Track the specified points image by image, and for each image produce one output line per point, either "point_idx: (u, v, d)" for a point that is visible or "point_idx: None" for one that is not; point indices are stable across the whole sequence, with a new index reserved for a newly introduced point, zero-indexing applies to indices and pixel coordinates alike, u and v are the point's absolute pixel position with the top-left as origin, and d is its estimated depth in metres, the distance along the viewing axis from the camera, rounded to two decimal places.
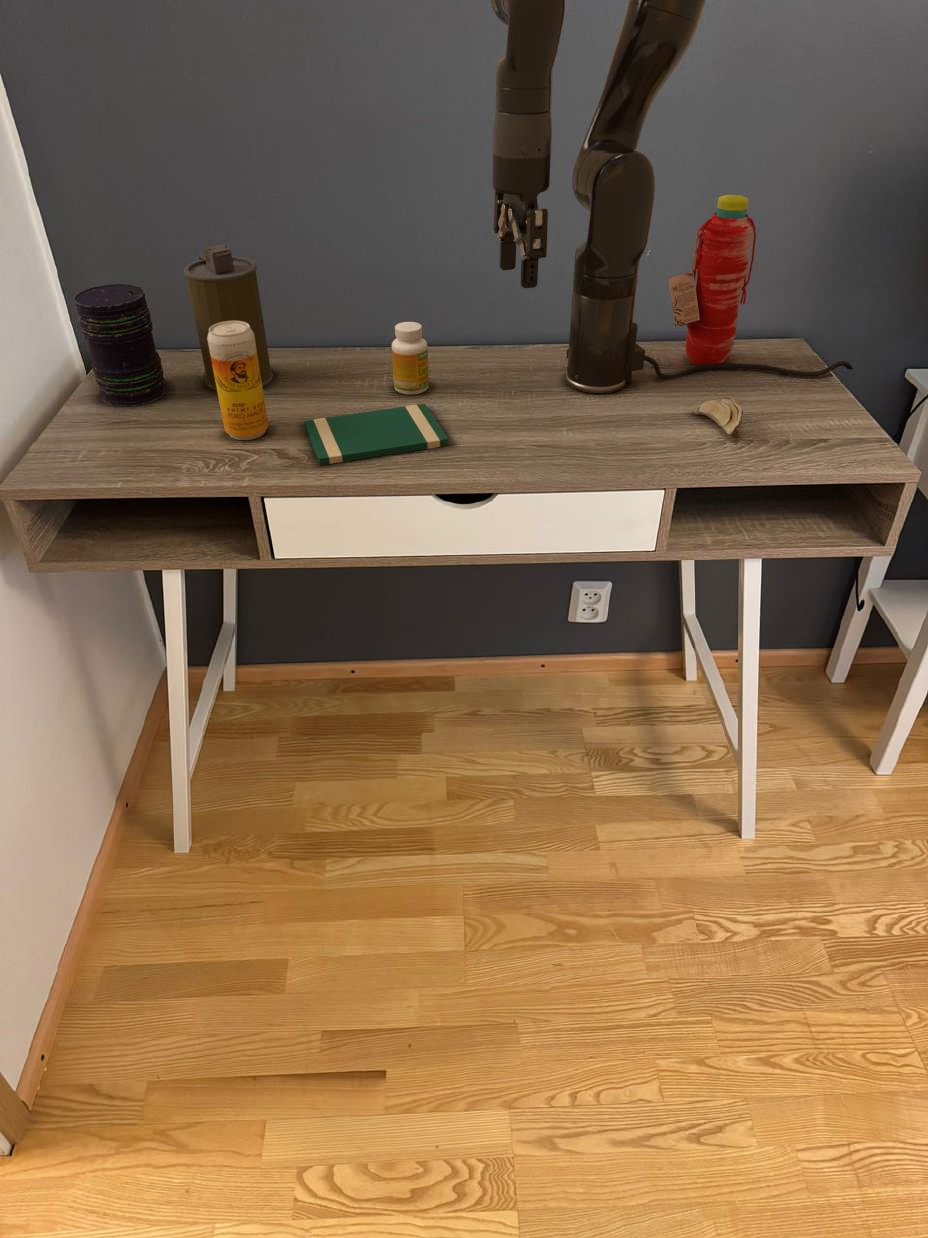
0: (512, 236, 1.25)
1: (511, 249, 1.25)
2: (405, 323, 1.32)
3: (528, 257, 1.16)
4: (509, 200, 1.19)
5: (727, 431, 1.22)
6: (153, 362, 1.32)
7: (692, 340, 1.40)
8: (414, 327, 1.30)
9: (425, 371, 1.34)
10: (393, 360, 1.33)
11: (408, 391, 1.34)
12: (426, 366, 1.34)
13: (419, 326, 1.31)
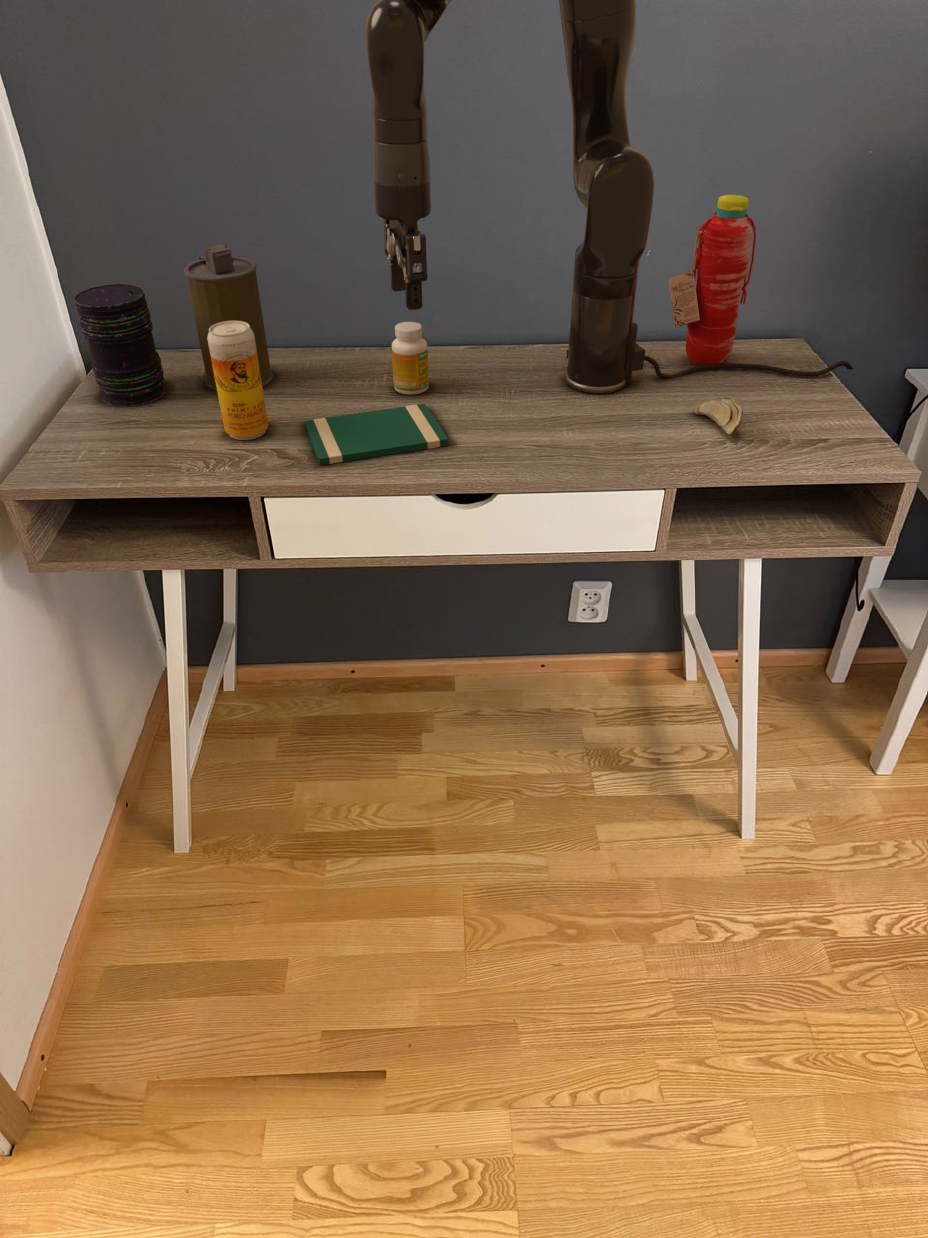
0: None
1: (401, 271, 1.29)
2: (405, 323, 1.32)
3: (409, 280, 1.20)
4: (393, 225, 1.23)
5: (727, 431, 1.22)
6: (153, 362, 1.32)
7: (692, 340, 1.40)
8: (414, 327, 1.30)
9: (425, 371, 1.34)
10: (393, 360, 1.33)
11: (408, 391, 1.34)
12: (426, 366, 1.34)
13: (419, 326, 1.31)
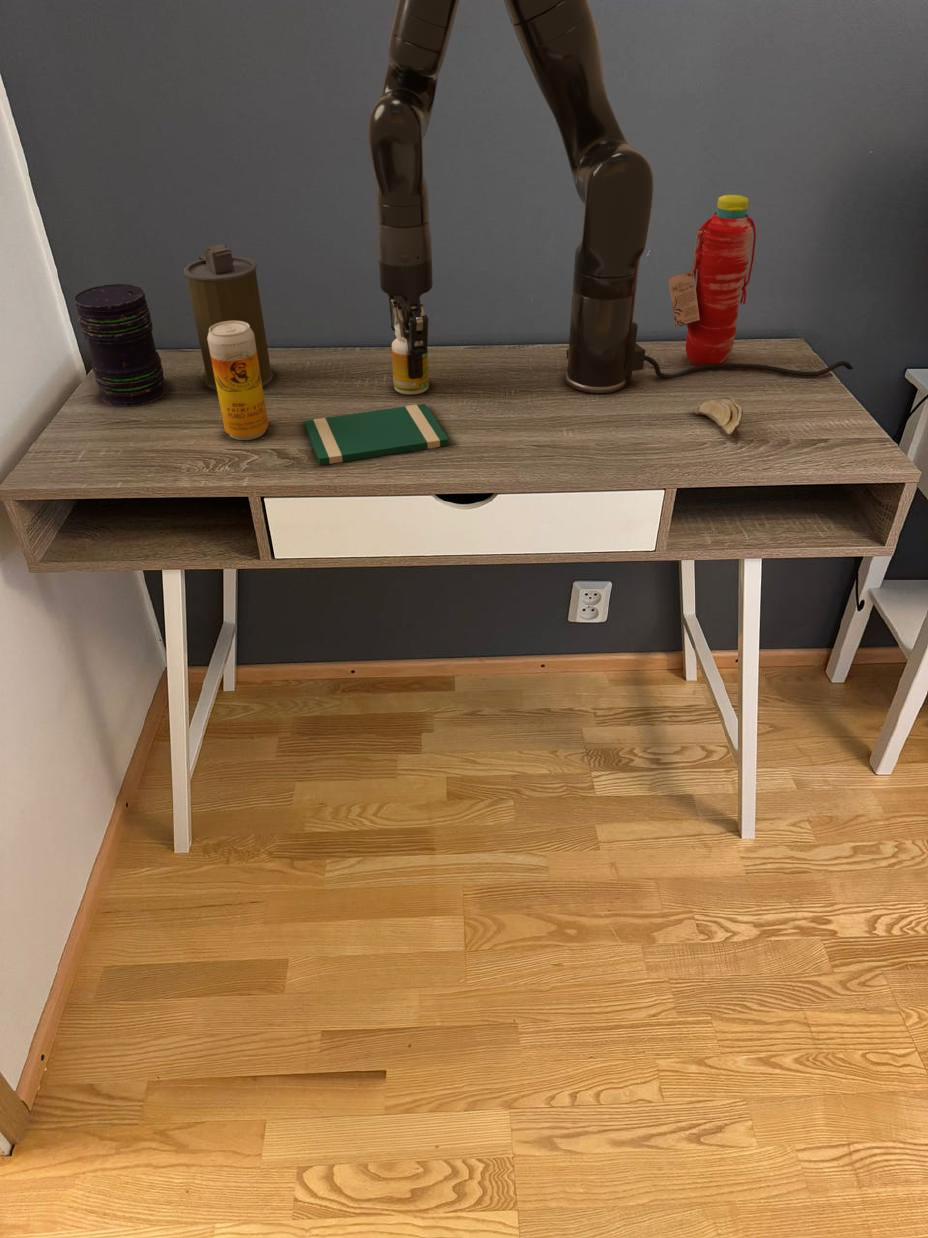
0: None
1: None
2: None
3: (410, 354, 1.28)
4: (397, 298, 1.29)
5: (727, 431, 1.22)
6: (153, 362, 1.32)
7: (692, 340, 1.40)
8: None
9: (425, 371, 1.34)
10: (393, 360, 1.33)
11: (408, 391, 1.34)
12: (426, 366, 1.34)
13: None
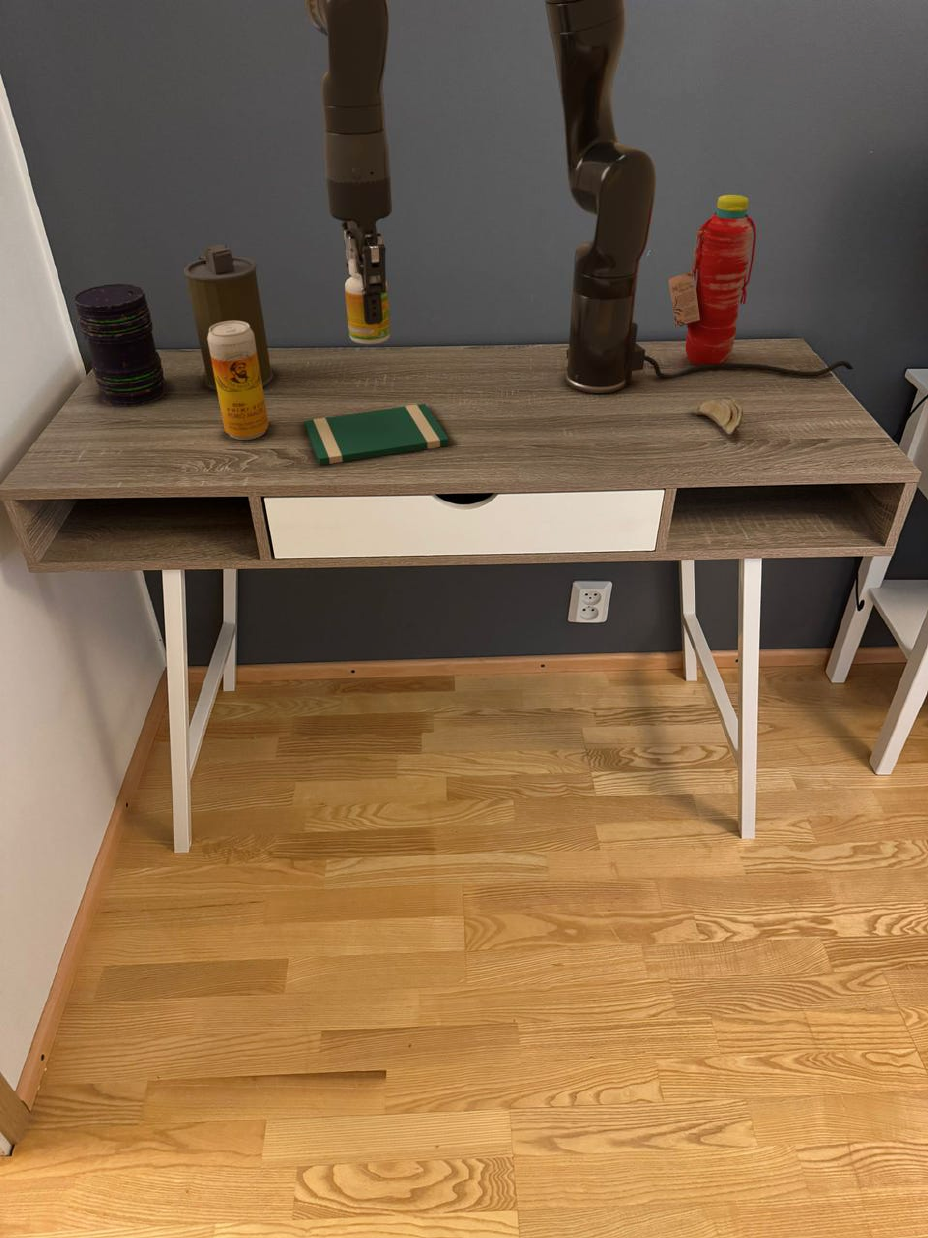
0: None
1: None
2: None
3: (365, 292, 1.07)
4: (351, 226, 1.08)
5: (727, 431, 1.22)
6: (153, 362, 1.32)
7: (692, 340, 1.40)
8: None
9: (385, 316, 1.13)
10: (347, 302, 1.12)
11: (365, 340, 1.14)
12: (386, 310, 1.13)
13: None
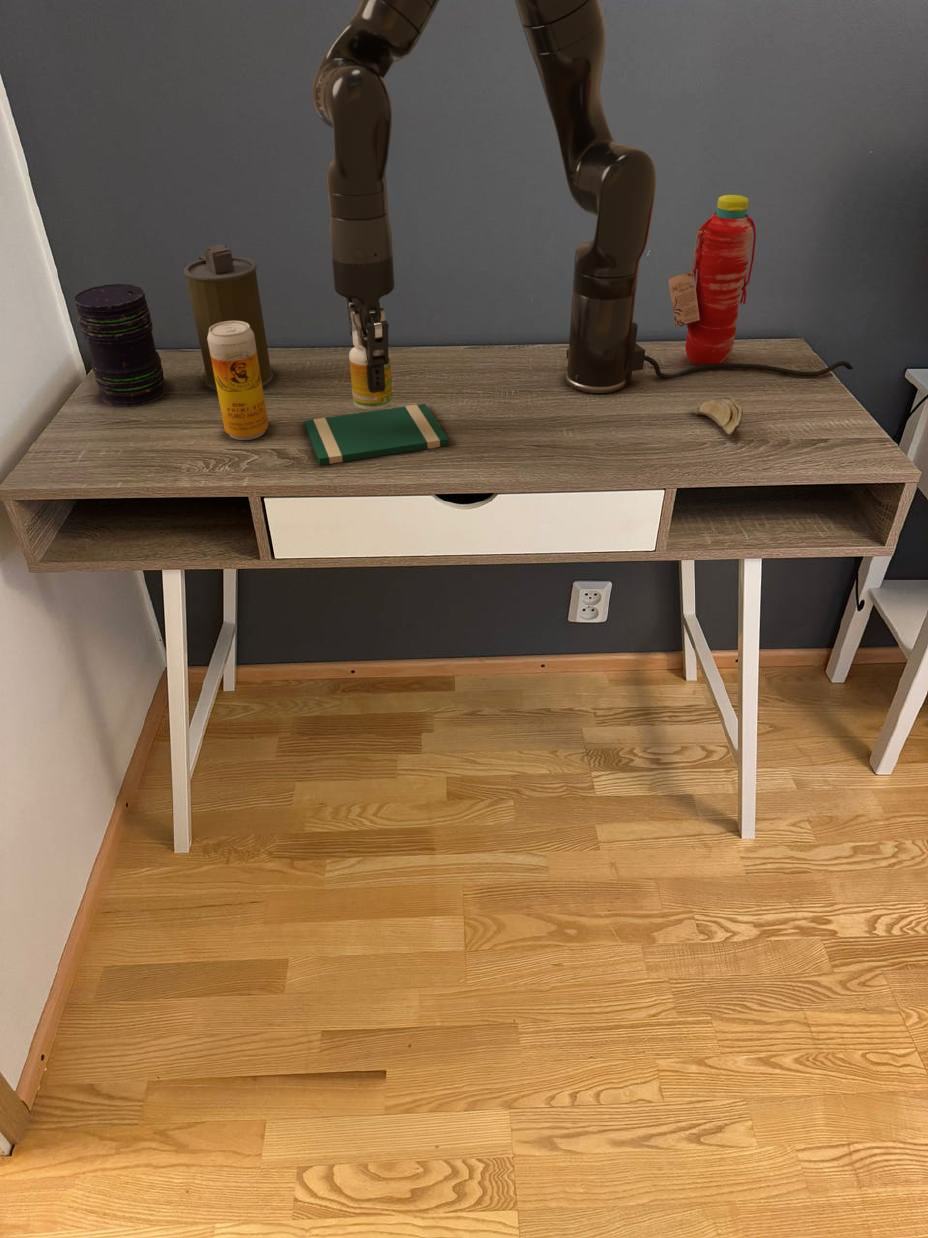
0: None
1: None
2: None
3: (369, 365, 1.12)
4: (355, 301, 1.13)
5: (727, 431, 1.22)
6: (153, 362, 1.32)
7: (692, 340, 1.40)
8: None
9: (387, 384, 1.18)
10: (351, 371, 1.17)
11: (369, 406, 1.18)
12: (389, 378, 1.18)
13: None
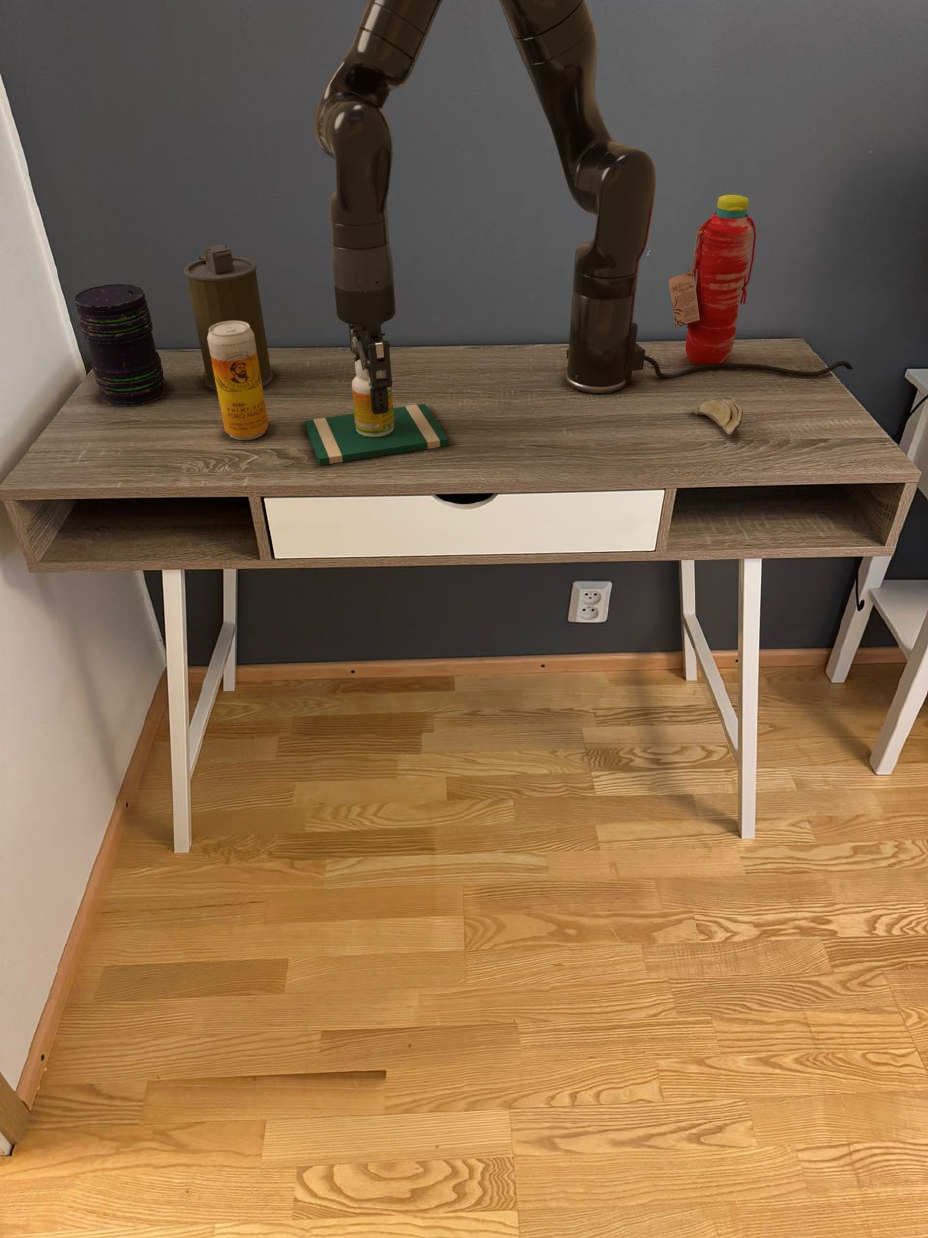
0: None
1: None
2: None
3: (373, 388, 1.13)
4: (357, 326, 1.15)
5: (727, 431, 1.22)
6: (153, 362, 1.32)
7: (692, 340, 1.40)
8: None
9: (389, 412, 1.20)
10: (354, 400, 1.20)
11: (371, 434, 1.21)
12: (391, 406, 1.20)
13: None
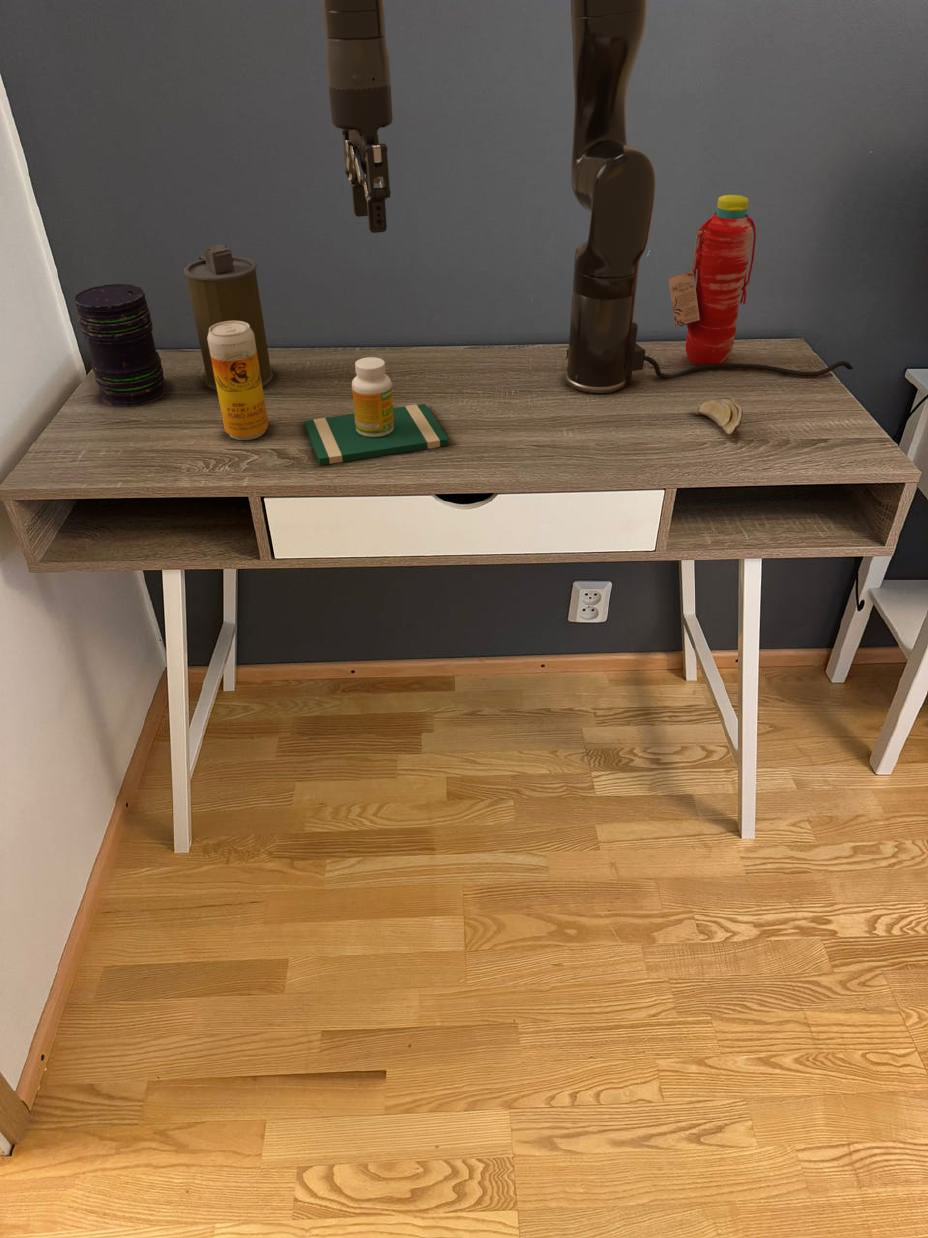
0: None
1: (364, 193, 1.18)
2: (367, 359, 1.18)
3: (370, 197, 1.08)
4: (353, 138, 1.11)
5: (727, 431, 1.22)
6: (153, 362, 1.32)
7: (692, 340, 1.40)
8: (376, 364, 1.17)
9: (389, 412, 1.20)
10: (354, 400, 1.20)
11: (371, 434, 1.21)
12: (391, 406, 1.20)
13: (382, 363, 1.17)
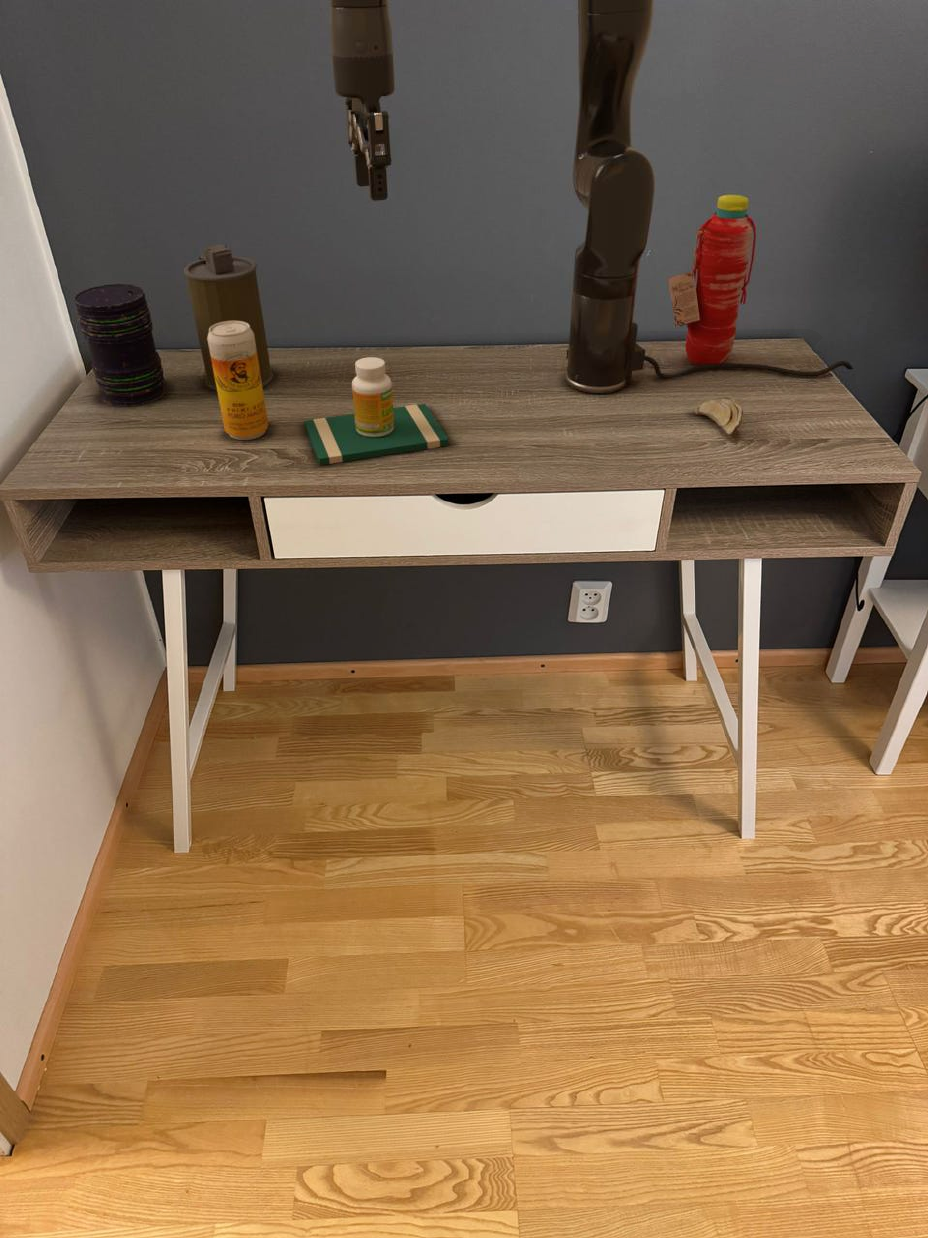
0: None
1: (366, 163, 1.20)
2: (367, 359, 1.18)
3: (371, 164, 1.11)
4: (355, 107, 1.14)
5: (727, 431, 1.22)
6: (153, 362, 1.32)
7: (692, 340, 1.40)
8: (376, 364, 1.17)
9: (389, 412, 1.20)
10: (354, 400, 1.20)
11: (371, 434, 1.21)
12: (391, 406, 1.20)
13: (382, 363, 1.17)
